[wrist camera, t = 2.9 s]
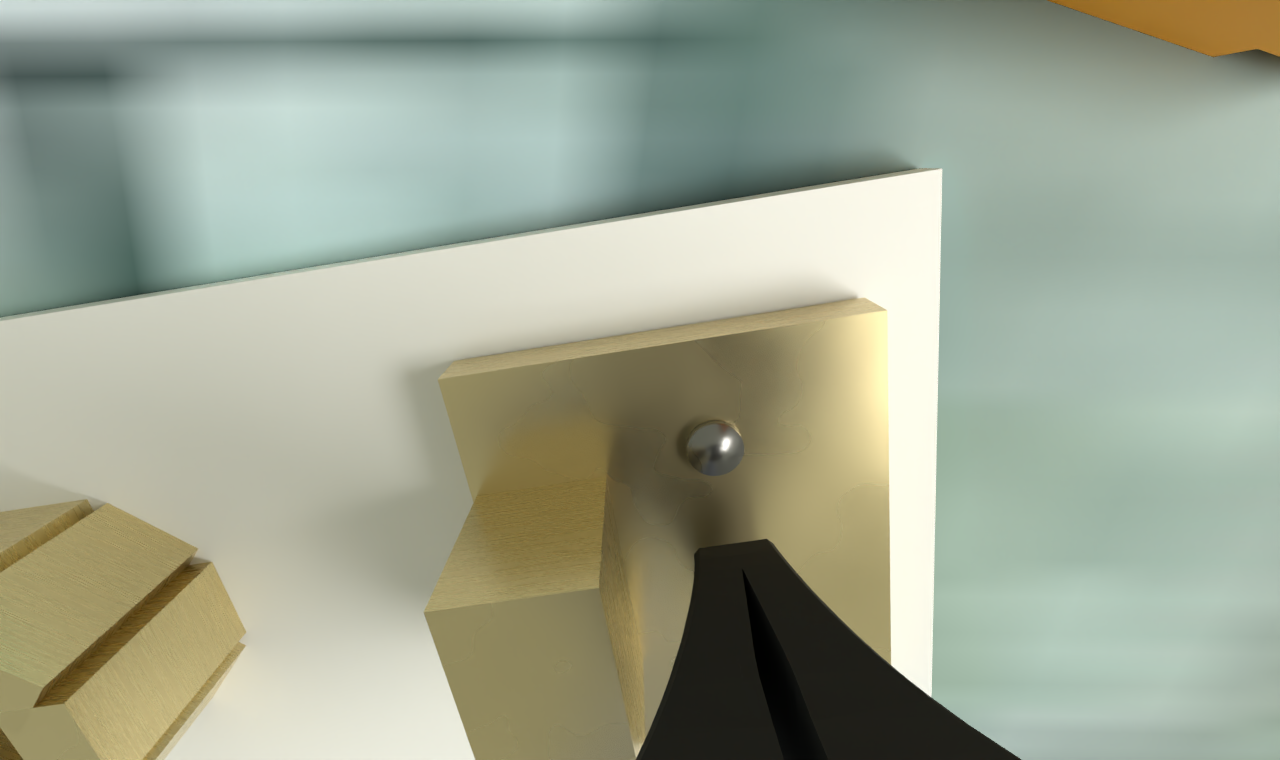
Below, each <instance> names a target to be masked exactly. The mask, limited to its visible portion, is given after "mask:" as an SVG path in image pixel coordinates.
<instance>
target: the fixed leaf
mask: <svg viewBox="0 0 1280 760" xmlns="http://www.w3.org/2000/svg"><path fill="white" fill-rule="evenodd" d="M197 550H198V548H196V547H194V546H192V545H190V544H188V543H186V542H184V541H182V540H180V539H178V538H177V537H175V536H173V535H171V534H169V533H167V532H165V531H163V530H161V529H159V528H157V527H155V526H153V525H151V524H149V523H147V522H145V521H143V520H141V519H139V518H137V517H135V516H133V515H131V514H129V513H127V512H125V511H123V510H121V509H119V508H117V507H115V506H113V505H111V504H109V503H106V504H105V505H103V506H102V507H100V508H99V509H97V510H96V511H93V509H92V507H91V505H90V503H89V501H88V500H87V499H84V500H77V501H71V502H64V503H57V504H51V505H44V506H37V507H31V508H24V509H17V510H11V511H4V512H0V760H164V759H165V758H166V757H167V756H168V754H169V753H170V752H171V750H172V749H173V748H174V747H175V745H176V744H177V743H178V741H179V740H180V739H181V738H182V736H183V735H184V734H185V733H186V731H187V730H188V729H189V727H190V726H191V725H192V724H193V722H194V721H195V720H196V718H197V717H198V716H199V715H200V713H201V712H202V711H203V709H204V708H205V707H206V706H207V704H208V703H209V702H210V700H211V699H212V698H213V696H214V695H215V693H216V692H217V690H218V689H219V687H220V685H221V684H222V682H223V681H224V679H225V678H226V676H227V675H228V673H229V671H230V670H231V668H232V667H233V665H234V664H235V662H236V661H237V659H238V657H239V656H240V654H241V653H242V651H243V650H244V648H245V647H246V645H244V644H242V643H240V642H239V641H240V639H241V638H242V637H243V636H244V634H245V633H246V630H245V628H244V626H243V624H242V622H241V620H240V618H239V616H238V614H237V612H236V610H235V607H234V605H233V603H232V601H231V599H230V597H229V595H228V593H227V591H226V589H225V587H224V585H223V583H222V581H221V579H220V577H219V575H218V573H217V570H216V568H215V566H214V564H213V562H207V563H200V564H193V565H189V564H190V563H191V561H192V559H193V557H194V556H195V554H196V552H197Z"/></svg>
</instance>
